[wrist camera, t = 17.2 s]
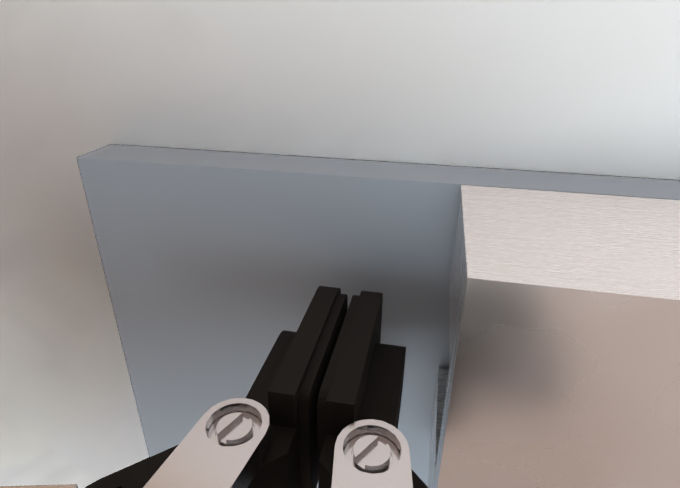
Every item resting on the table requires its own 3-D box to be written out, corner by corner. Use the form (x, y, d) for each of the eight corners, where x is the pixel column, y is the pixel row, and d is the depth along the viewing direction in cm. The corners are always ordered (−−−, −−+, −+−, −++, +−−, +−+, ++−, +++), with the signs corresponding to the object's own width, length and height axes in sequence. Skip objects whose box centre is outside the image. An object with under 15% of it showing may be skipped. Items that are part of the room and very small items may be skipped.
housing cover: (430, 429, 15) (423, 583, 11) (461, 184, 11) (467, 278, 7) (679, 471, 13) (776, 661, 9) (802, 208, 10) (1039, 337, 6)
